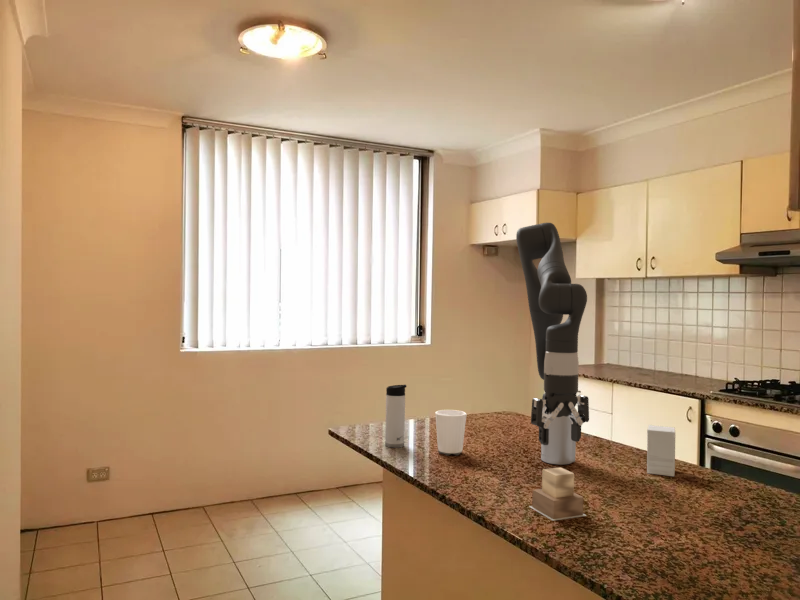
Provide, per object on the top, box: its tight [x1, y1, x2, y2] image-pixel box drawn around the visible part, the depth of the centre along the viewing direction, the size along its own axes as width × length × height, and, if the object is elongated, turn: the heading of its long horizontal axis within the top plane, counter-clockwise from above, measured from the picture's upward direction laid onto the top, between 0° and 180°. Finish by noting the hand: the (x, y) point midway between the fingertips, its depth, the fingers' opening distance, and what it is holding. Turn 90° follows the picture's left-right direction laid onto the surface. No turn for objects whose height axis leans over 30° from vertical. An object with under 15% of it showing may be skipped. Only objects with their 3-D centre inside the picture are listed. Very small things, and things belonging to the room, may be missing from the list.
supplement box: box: [646, 424, 676, 477], centre depth 174 cm, size 7×7×13 cm
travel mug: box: [384, 384, 407, 449], centre depth 198 cm, size 6×7×20 cm
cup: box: [434, 409, 467, 457], centre depth 190 cm, size 10×10×13 cm
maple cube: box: [541, 466, 575, 498], centre depth 138 cm, size 5×5×5 cm
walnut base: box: [531, 488, 584, 519], centre depth 138 cm, size 8×8×4 cm
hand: (559, 442), depth 137 cm, fingers open, 8 cm apart
